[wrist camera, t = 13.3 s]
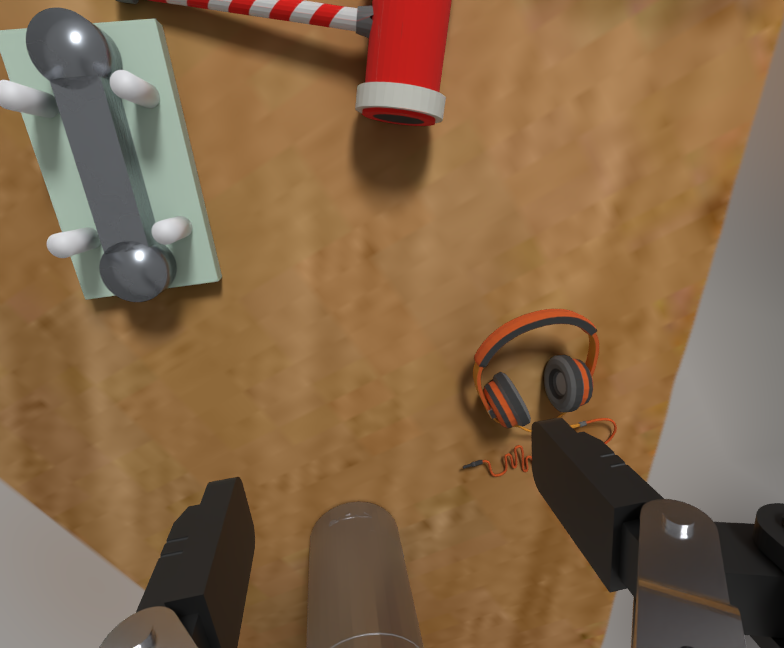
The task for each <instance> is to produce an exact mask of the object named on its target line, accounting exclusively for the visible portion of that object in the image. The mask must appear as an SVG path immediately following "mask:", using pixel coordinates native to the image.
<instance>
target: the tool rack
mask: <svg viewBox="0 0 784 648" xmlns="http://www.w3.org/2000/svg"><path fill="white" fill-rule="evenodd" d="M93 24H94V25H96V26H97V27H99V28H100V29H101V30H103V31H104V32H105V33H107V34H108V35H109V36H110V37H111V39H112V40H113V41H114V42H115V44H116V46H117V47H118V50H119V52H120V55H121V58H122V65H123V70H117V71H115V72H114V73H113V74H112V75H111V77H110V86H111V89H112V91H113V92H114V93H115V94H116V95H117V96H118V97H120V98H122V102H123V106H124V109H125V113H126V117H127V120H128V124H129V128H130V131H131V135H132V139H133V142H134V146H135V150H136V153H137V157H138V161H139V164H140V168H141V171H142V175H143V179H144V182H145V186H146V190H147V193H148V197H149V201H150V204H151V208H152V212H153V215H154V219H155V224H154V225H153V227H152V236H153V238H154V239H155V240H156V241H157V242H158V243H160V244H163V245H165V246H167V247H168V248H169V250H170V251H171V252H172V254H173V256H174V258H175V260H176V265H177V273H176V277H175V279H174V281H173V283H172V284H171V285H170V286H169V287H168V288H173V287H180V286H187V285H194V284H202V283H209V282H216V281H219V280H220V279H221V278H222V274H221V270H220V266H219V262H218V258H217V253H216V249H215V245H214V241H213V237H212V232H211V228H210V224H209V220H208V216H207V211H206V207H205V203H204V199H203V195H202V190H201V186H200V182H199V178H198V174H197V169H196V165H195V161H194V157H193V153H192V148H191V144H190V140H189V136H188V131H187V127H186V123H185V119H184V115H183V110H182V106H181V102H180V98H179V94H178V89H177V85H176V81H175V77H174V73H173V68H172V64H171V60H170V56H169V52H168V47H167V43H166V39H165V35H164V31H163V26H162V25H161V24H160V23H159V22H158V21H157V20H156V19H143V20H130V21H117V22H104V23H93ZM26 31H27V28H26V29H13V30H0V53H1V56H2V58H3V61H4V64H5V67H6V70H7V73H8V76H9V79H10V81H7V80H1V81H0V106H1V107H3V108H5V109H8V110H13V111H18V112H21V114H22V117H23V120H24V122H25V125H26V128H27V131H28V134H29V137H30V140H31V143H32V146H33V149H34V152H35V154H36V157H37V160H38V163H39V166H40V169H41V172H42V175H43V178H44V181H45V184H46V186H47V189H48V192H49V195H50V198H51V201H52V204H53V207H54V210H55V213H56V216H57V218H58V221H59V224H60V227H61V230H62V233H57V234H53V235H51V236H50V237H49V238H48V240H47V247H48V250H49V251H50V252H51V253H52V254H53V255H54V256H56V257H59V258H66V257H70V256H71V259H72V262H73V265H74V268H75V271H76V274H77V277H78V280H79V282H80V285H81V288H82V291H83V294H84V297H85V300H86V299H93V298H101V297H108V296H115V295H114V294H113V293H112V292H111V291H109V289H108V288H107V287H106V286H105V284H104V283H103V281H102V278H101V276H100V270H99V264H100V260H101V257H102V255H103V254H104V251H103V248H102V245H101V242H100V239H99V235H98V232H97V229H96V226H95V223H94V220H93V217H92V213H91V210H90V207H89V204H88V201H87V198H86V194H85V191H84V188H83V185H82V182H81V179H80V176H79V172H78V169H77V166H76V163H75V160H74V157H73V153H72V150H71V147H70V144H69V141H68V138H67V135H66V131H65V128H64V125H63V122H62V119H61V116H60V112H59V109H58V106H57V103H56V100H55V97H54V94H53V90H52V87H51V84H50V81H49V80H48V79H46V78H45V77H44V76H43V75H42V74H41V73H40V72H39V71H38V70H37V69H36V67H35V66H34V64H33V63H32V61H31V59H30V57H29V54H28V51H27V47H26Z"/></svg>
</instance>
